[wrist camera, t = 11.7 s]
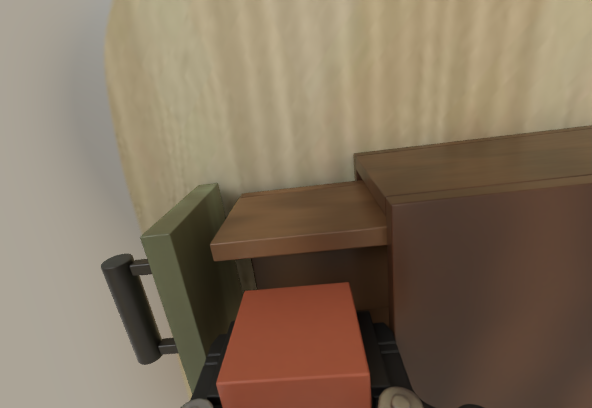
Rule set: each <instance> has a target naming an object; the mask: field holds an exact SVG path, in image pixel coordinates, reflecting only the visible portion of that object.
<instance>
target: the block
mask: <svg viewBox="0 0 592 408" xmlns="http://www.w3.org/2000/svg"><path fill="white" fill-rule="evenodd" d="M216 386H217V390H218V393H219V396H220V400H221V403H222V407H223V408H372V400H371V382H370V371H369V367H368V363H367V358H366V354H365V349H364V345H363V340H362V336H361V331H360V327H359V322H358V318H357V313H356V309H355V304H354V300H353V295H352V291H351V286H350V283H349V282H342V283H331V284H319V285H307V286H296V287H284V288H273V289H261V290H249V291H245V292H244V295H243V298H242V301H241V304H240V308H239V311H238V314H237V317H236V321H235V324H234V327H233V330H232V333H231V337H230V340H229V343H228V346H227V350H226V353H225V356H224V359H223V362H222V366H221V369H220V372H219V375H218V379H217V382H216Z"/></svg>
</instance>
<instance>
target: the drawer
mask: <svg viewBox="0 0 592 408" xmlns="http://www.w3.org/2000/svg"><path fill="white" fill-rule="evenodd" d="M140 238H141V241H142V244H143V247H144V250H145V253H146V256H147V259H141V260H135V261H134V259H133V256H132V255H131V254H121V255H117V256H114V257H111V258H109V259H107V260H106V261H104V262H103V263H102V264H101V269H102V271H103V274H104V276H105V279H106V281H107V284H108V286H109V289H110V291H111V294H112V296H113V299H114V302H115V304H116V306H117V309H118V312H119V314H120V317H121V319H122V322H123V324H124V327H125V329H126V332H127V334H128V336H129V339H130V342H131V344H132V347H133V350H134V352H135V355H136V357H137V360H138V362H139V363H140V364H144V365H146V364H150V363H153V362H155V361H156V360H158V359H159V358H160V357H161V356H162V355H163V354H175V353H179V356H180V359H181V362H182V365H183V368H184V371H185V374H186V377H187V380H188V383H189V386H190V389H191V392H192V395H193V392H194V389H195V387H196V384H197V381H198V379H199V376H200V373H201V371H202V368H203V366H204V363H205V360H206V357H207V356H208V352H209V349H210V347H211V344H212V343H213V342H214V341H215V339H216V338H217V337H218V336H219V335H220V334H227V332H228V329H229V326H230V323H231V321H236V317H237V314H238V311H239V308H240V304H241V301H242V298H243V294H242V289H241V284H240V280H239V275H238V271H237V266H236V262H235V260H236V259H246V258H251V261H252V266H253V271H254V276H255V281H256V286H257V290H261V289H273V288H284V287H296V286H307V285H319V284H331V283H342V282H349V283H350V286H351V291H352V295H353V300H354V304H355V309H356V311H366V310H369V312H370V315H371V319H372V322H373V323H380V322H384V323H385V324H386V325H387V326H388V327H389V296H388V260H387V224H386V216H385V214H384V212H383V211H382V209H381V208H380V206H379V205H378V203H377V201H376V200H375V198H374V197H373V195H372V194H371V192H370V190H369V189H368V187H367V186H366V184H365V182H364V181H363V180H360V181H351V182H342V183H333V184H324V185H315V186H306V187H298V188H289V189H280V190H271V191H262V192H253V193H244V194H241V196H240V197H239V199H238V200H237V202H236V203H235V205H234V207H233V208H232V210H231V211H230V213H229V215H228V216H227V218H226V217H225V212H224V208H223V203H222V199H221V194H220V190H219V185H218V183H214V184H206V185H199V186H197V187H196V188H195V189H194V190H193V191H192V192H191V193H189V194H188V195H187V196H186V197H185V198H184V199H183V200H181V201H180V202H179V203H178V204H177V205H176V206H175V207H174V208H172V209H171V210H170V211H169V212H168V213H167V214H166V215H164V216H163V217H162V218H161V219H160V220H159V221H158V222H157V223H155V224H154V225H153V226H152V227H151V228H150V229H149V230H147V231H146V232H145V233H144V234H143V235H142V236H141V237H140ZM148 274H153V277H154V280H155V283H156V286H157V289H158V292H159V295H160V298H161V301H162V304H163V307H164V310H165V313H166V316H167V319H168V322H169V326H170V329H171V332H172V335H173V338H166V339H161V336H160V333H159V330H158V327H157V325H156V322H155V319H154V316H153V313H152V310H151V307H150V305H149V302H148V299H147V296H146V293H145V290H144V287H143V285H142V282H141V279H140V276H139V275H148Z"/></svg>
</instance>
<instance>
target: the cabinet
mask: <svg viewBox="0 0 592 408" xmlns="http://www.w3.org/2000/svg"><path fill="white" fill-rule="evenodd" d="M353 156H354V172H355V181H360V180H363V181H364V182H365V184H366V186H367V187H368V189H369V190H370V192H371V194H372V195H373V197H374V198H375V200H376V201H377V203H378V205H379V206H380V208H381V209H382V211H383V212H384V214H385V216H386V224H387V260H388V296H389V328H390V330H391V331H392V332H393V335H394V338H395V341H396V344H397V347H398V349H399V353H400V355H401V358H402V361H403V364H404V366H405V369H406V372H407V375H408V378H409V381H410V383H411V386H412V388H413V390H414V392H415V393H416V395H417V396H418V397H419V398H420V399H421V400H423V401H424V402H425V403H427V404H429V405H431V406H433V407H435V408H458V407H460V406H462V405H465V404H475V405H479V406H482V407H484V408H592V126H584V127H575V128H567V129H558V130H550V131H541V132H533V133H524V134H516V135H507V136H499V137H490V138H482V139H474V140H465V141H457V142H448V143H440V144H431V145H423V146H414V147H406V148H397V149H389V150H380V151H372V152H364V153H355V154H354V155H353Z"/></svg>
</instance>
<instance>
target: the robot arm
mask: <svg viewBox="0 0 592 408" xmlns="http://www.w3.org/2000/svg"><path fill="white" fill-rule="evenodd" d="M356 313H357V318H358V322H359V327H360V331H361V336H362V340H363V345H364V349H365V354H366V358H367V363H368V367H369V371H370V382H371V400H372V408H435V407H433V406H431V405H429V404H427V403H425V402H424V401H423V400H421V399H420V398H419V397H418V396H417V395H416V393H415V392H414V390H413V388H412V386H411V383H410V381H409V378H408V375H407V372H406V369H405V366H404V364H403V361H402V358H401V355H400V353H399V349H398V347H397V344H396V341H395V338H394V335H393V332H392V331H391V330H390V328H389V327H388V326H387V325H386V324H385V323H384V322H380V323H373V322H372V319H371V315H370V312H369V310H366V311H356ZM234 324H235V321H231V323H230V326H229V329H228V332H227V334H220V335H219V336H218V337H217V338H216V339H215V341H214V342H213V343H212V344H211V347H210V349H209V352H208V356H207V357H206V360H205V363H204V366H203V368H202V371H201V373H200V376H199V379H198V381H197V384H196V387H195V389H194V392H193V395H192V397H191V400H190V401H189V402H187V403H186V404H184V405H183V406H182V407H181V408H223V407H222V403H221V400H220V396H219V393H218V390H217V386H216V382H217V379H218V375H219V372H220V369H221V366H222V362H223V359H224V356H225V353H226V350H227V346H228V343H229V340H230V337H231V333H232V330H233V327H234ZM458 408H484V407H482V406H479V405H475V404H465V405H462V406H460V407H458Z"/></svg>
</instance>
